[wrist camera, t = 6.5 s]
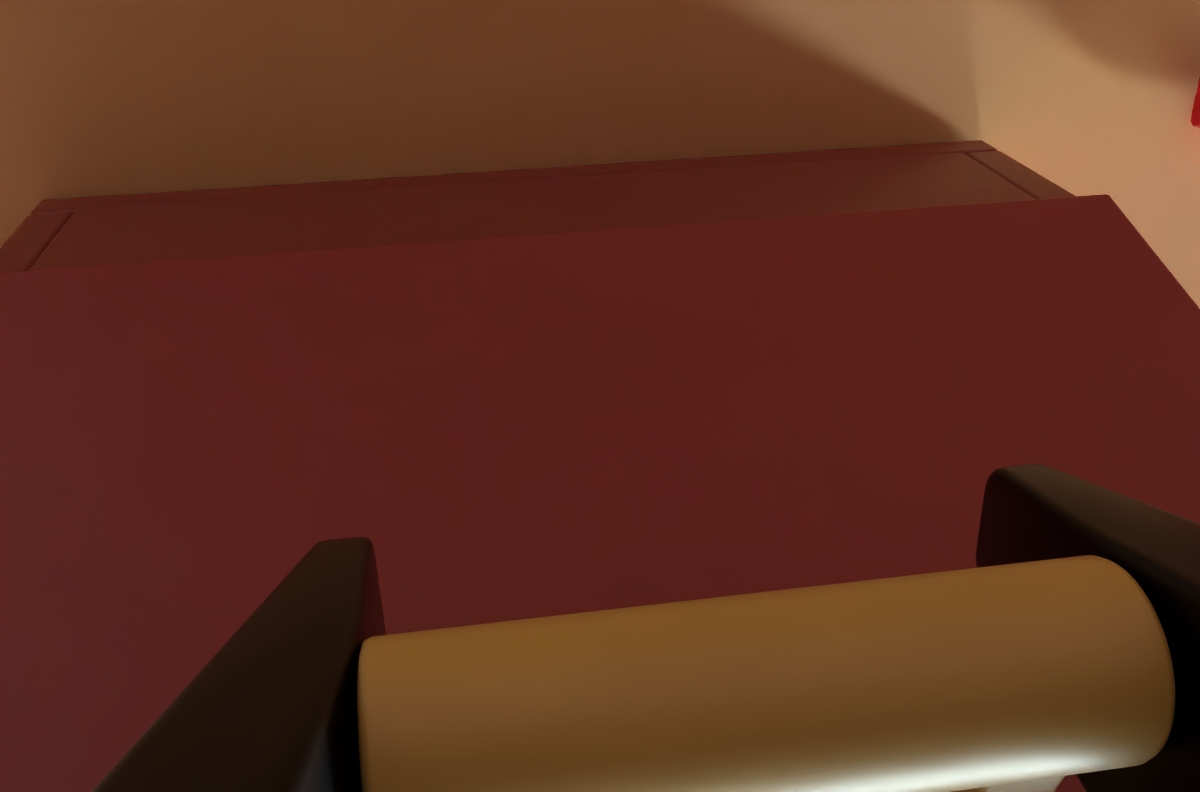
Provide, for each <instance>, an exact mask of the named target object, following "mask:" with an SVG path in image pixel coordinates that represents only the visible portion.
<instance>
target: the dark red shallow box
mask: <svg viewBox="0 0 1200 792" xmlns="http://www.w3.org/2000/svg"><path fill="white" fill-rule="evenodd" d="M1063 197H1076V196H1074V195H1073V194H1071V193H1069V192H1068V191H1066V190H1064V189H1063V188H1061V187H1059V186H1058V185H1056V184H1054V183H1053V182H1051V181H1049V180H1048V179H1046V178H1044V177H1043V176H1041V175H1039V174H1038V173H1036V172H1034V171H1032V170H1031V169H1029V168H1027V167H1026V166H1024V165H1022V164H1021V163H1019V162H1017V161H1016V160H1014V159H1012V158H1011V157H1009V156H1007V155H1006V154H1004V153H1002V152H1000V151H997V149H995V148H994V147H992V146H990V145H989V144H987V143H985V142H984V141H981V140H979V141H963V142H947V143H932V144H916V145H900V146H885V147H869V148H853V149H837V150H822V151H806V152H790V153H774V154H759V155H743V156H727V157H711V158H696V159H680V160H664V161H648V162H633V163H617V164H601V165H586V166H570V167H554V168H538V169H523V170H507V171H491V172H475V173H460V174H444V175H428V176H412V177H397V178H381V179H365V180H349V181H334V182H318V183H302V184H286V185H271V186H255V187H239V188H224V189H208V190H192V191H176V192H161V193H145V194H129V195H113V196H98V197H82V198H66V199H50V200H43V201H41V202H40V203H39V204H38V205H37V206H36V208H35V209H34V210H33V211H32V213H31V215H29V216H28V217H27V218H26V219H25V220H24V221H23V222H22V224H21V225H20V226H19V227H18V228H17V229H16V230H15V232H14V233H13V234H12V235H11V236H10V237H9V238H8V240H7V241H6V242H5V243H4V244H3V245H2V246H1V248H0V273H6V272H20V271H34V270H48V269H62V268H76V267H90V266H104V265H118V264H132V263H147V262H161V261H175V260H189V259H203V258H217V257H231V256H245V255H259V254H273V253H288V252H302V251H316V250H330V249H344V248H358V247H372V246H386V245H400V244H414V243H429V242H443V241H457V240H471V239H485V238H499V237H513V236H527V235H541V234H555V233H570V232H584V231H598V230H612V229H626V228H640V227H654V226H668V225H682V224H696V223H711V222H725V221H739V220H753V219H767V218H781V217H795V216H809V215H823V214H837V213H852V212H866V211H880V210H894V209H908V208H922V207H936V206H950V205H964V204H978V203H993V202H1007V201H1021V200H1035V199H1049V198H1063Z"/></svg>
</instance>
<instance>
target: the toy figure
mask: <svg viewBox="0 0 1200 792" xmlns="http://www.w3.org/2000/svg"><path fill="white" fill-rule="evenodd" d="M1191 123H1192V125H1193V126H1195V127H1200V78H1199V82H1198V88H1197V93H1196V95H1195V99H1194V105H1193V110H1192V117H1191Z"/></svg>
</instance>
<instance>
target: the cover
mask: <svg viewBox="0 0 1200 792" xmlns="http://www.w3.org/2000/svg"><path fill="white" fill-rule="evenodd" d="M1028 464H1042V465H1046V466H1049V467H1051V468H1054V469H1057V470H1059V471H1062V472H1065V473H1067V474H1070V475H1072V476H1075V477H1078V478H1080V479H1083V480H1086V481H1088V482H1091V483H1094V484H1096V485H1099V486H1102V487H1104V488H1107V489H1109V490H1112V491H1115V492H1117V493H1120V494H1123V495H1125V496H1128V497H1131V498H1133V499H1136V500H1139V501H1141V502H1144V503H1147V504H1149V505H1152V506H1154V507H1157V508H1160V509H1162V510H1165V511H1168V512H1170V513H1173V514H1176V515H1178V516H1181V517H1184V518H1186V519H1189V520H1191V521H1194V522H1197V523H1199V524H1200V309H1199V307H1198V306H1197V305H1196V304H1195V302H1194V301H1193V300H1192V299H1191V297H1190V296H1189V295H1188V294H1187V292H1186V291H1185V290H1184V289H1183V287H1182V286H1181V285H1180V284H1179V282H1178V281H1177V280H1176V279H1175V277H1174V276H1173V275H1172V274H1171V272H1170V271H1169V270H1168V269H1167V267H1166V266H1165V265H1164V264H1163V262H1162V261H1161V260H1160V259H1159V257H1158V256H1157V255H1156V254H1155V252H1154V251H1153V250H1152V249H1151V247H1150V246H1149V245H1148V244H1147V242H1146V241H1145V240H1144V239H1143V237H1142V236H1141V235H1140V234H1139V232H1138V231H1137V230H1136V229H1135V227H1134V226H1133V225H1132V224H1131V222H1130V221H1129V220H1128V219H1127V217H1126V216H1125V215H1124V214H1123V212H1122V211H1121V210H1120V209H1119V207H1118V206H1117V205H1116V203H1115V202H1114V201H1113V200H1112V198H1111V197H1110V196H1109V195H1106V194H1105V195H1091V196H1077V197H1063V198H1049V199H1035V200H1021V201H1007V202H993V203H978V204H964V205H950V206H936V207H922V208H908V209H894V210H880V211H866V212H852V213H837V214H823V215H809V216H795V217H781V218H767V219H753V220H739V221H725V222H711V223H696V224H682V225H668V226H654V227H640V228H626V229H612V230H598V231H584V232H570V233H555V234H541V235H527V236H513V237H499V238H485V239H471V240H457V241H443V242H429V243H414V244H400V245H386V246H372V247H358V248H344V249H330V250H316V251H302V252H288V253H273V254H259V255H245V256H231V257H217V258H203V259H189V260H175V261H161V262H147V263H132V264H118V265H104V266H90V267H76V268H62V269H48V270H34V271H20V272H6V273H0V792H91V791H92V790H93V789H94V788H95V787H96V786H97V785H98V784H99V782H100V781H101V780H102V779H103V778H104V777H105V776H106V775H107V774H108V773H109V771H110V770H111V769H112V768H113V767H114V766H115V765H116V764H117V763H118V761H119V760H120V759H121V758H122V757H123V756H124V755H125V754H126V753H127V752H128V750H129V749H130V748H131V747H132V746H133V745H134V744H135V743H136V742H137V741H138V739H139V738H140V737H141V736H142V735H143V734H144V733H145V732H146V731H147V729H148V728H149V727H150V726H151V725H152V724H153V723H154V722H155V721H156V720H157V718H158V717H159V716H160V715H161V714H162V713H163V712H164V711H165V710H166V708H167V707H168V706H169V705H170V704H171V703H172V702H173V701H174V700H175V699H176V697H177V696H178V695H179V694H180V693H181V692H182V691H183V690H184V689H185V687H186V686H187V685H188V684H189V683H190V682H191V681H192V680H193V679H194V678H195V676H196V675H197V674H198V673H199V672H200V671H201V670H202V669H203V668H204V667H205V665H206V664H207V663H208V662H209V661H210V660H211V659H212V658H213V657H214V655H215V654H216V653H217V652H218V651H219V650H220V649H221V648H222V647H223V646H224V644H225V643H226V642H227V641H228V640H229V639H230V638H231V637H232V636H233V634H234V633H235V632H236V631H237V630H238V629H239V628H240V627H241V626H242V625H243V623H244V622H245V621H246V620H247V619H248V618H249V617H250V616H251V615H252V614H253V612H254V611H255V610H256V609H257V608H258V607H259V606H260V605H261V604H262V602H263V601H264V600H265V599H266V598H267V597H268V596H269V595H270V594H271V593H272V591H273V590H274V589H275V588H276V587H277V586H278V585H279V584H280V583H281V581H282V580H283V579H284V578H285V577H286V576H287V575H288V574H289V573H290V572H291V570H292V569H293V568H294V567H295V566H296V565H297V564H298V563H299V562H300V560H301V559H302V558H303V557H304V556H305V555H306V554H307V553H308V552H309V551H310V549H311V548H312V547H313V546H314V545H315V544H317V543H318V542H320V541H324V540H333V539H343V538H352V537H366V538H368V539H370V540H371V542H372V544H373V547H374V552H375V558H376V565H377V572H378V580H379V587H380V594H381V601H382V608H383V616H384V623H385V632H386V635H381V636H372V637H370V638H368V639H366V640H365V641H364V642H363V644H362V648H361V651H360V654H359V661H358V675H357V718H358V743H359V760H360V773H361V785H362V792H1086V790H1085V789H1084V787H1083V785H1082V784H1081V782H1080V780H1079V779H1078V777H1077V775H1076V774H1081V773H1088V772H1096V771H1103V770H1110V769H1117V768H1124V767H1131V766H1138V765H1141V764H1144V763H1146V762H1147V761H1149V760H1150V759H1152V758H1153V757H1154V756H1156V755H1157V754H1158V753H1159V752H1160V751H1161V750H1162V748H1163V747H1164V745H1165V743H1166V742H1167V739H1168V737H1169V734H1170V732H1171V728H1172V724H1173V720H1174V713H1175V697H1176V695H1175V679H1174V671H1173V665H1172V660H1171V655H1170V651H1169V647H1168V643H1167V640H1166V637H1165V634H1164V631H1163V628H1162V625H1161V623H1160V621H1159V618H1158V616H1157V614H1156V612H1155V610H1154V608H1153V606H1152V604H1151V602H1150V600H1149V599H1148V597H1147V596H1146V594H1145V593H1144V591H1143V589H1142V588H1141V587H1140V585H1139V584H1138V583H1137V582H1136V580H1135V579H1134V578H1133V577H1132V576H1131V575H1130V574H1129V573H1128V572H1127V571H1126V570H1125V569H1123V568H1122V567H1121V566H1119V565H1118V564H1116V563H1114V562H1113V561H1111V560H1108V559H1105V558H1102V557H1099V556H1094V555H1085V556H1076V557H1067V558H1059V559H1050V560H1041V561H1032V562H1023V563H1015V564H1006V565H997V566H988V567H979V568H977V565H976V546H977V539H978V532H979V525H980V518H981V511H982V505H983V498H984V491H985V486H986V482H987V479H988V477H989V475H990V474H991V473H992V472H993V471H995V470H996V469H998V468H1002V467H1010V466H1019V465H1028Z"/></svg>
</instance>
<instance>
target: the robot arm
mask: <svg viewBox="0 0 1200 792" xmlns="http://www.w3.org/2000/svg"><path fill="white" fill-rule="evenodd" d="M1085 555H1094V556H1099V557H1102V558H1105V559H1108V560H1111V561H1113V562H1114V563H1116V564H1118V565H1119V566H1121V567H1122V568H1123V569H1125V570H1126V571H1127V572H1128V573H1129V574H1130V575H1131V576H1132V577H1133V578H1134V579H1135V580H1136V582H1137V583H1138V584H1139V585H1140V587H1141V588H1142V589H1143V591H1144V593H1145V594H1146V596H1147V597H1148V599H1149V600H1150V602H1151V604H1152V606H1153V608H1154V610H1155V612H1156V614H1157V616H1158V618H1159V621H1160V623H1161V625H1162V628H1163V631H1164V634H1165V637H1166V640H1167V643H1168V647H1169V651H1170V655H1171V660H1172V665H1173V671H1174V679H1175V695H1176V697H1175V713H1174V720H1173V724H1172V728H1171V732H1170V734H1169V737H1168V739H1167V742H1166V743H1165V745H1164V747H1163V748H1162V750H1161V751H1160V752H1159V753H1158V754H1157V755H1156V756H1154V757H1153V758H1152V759H1150V760H1149V761H1147V762H1146V763H1144V764H1141V765H1138V766H1131V767H1124V768H1117V769H1110V770H1103V771H1096V772H1088V773H1081V774H1076V775H1077V777H1078V779H1079V780H1080V782H1081V784H1082V785H1083V787H1084V789H1085V790H1086V792H1200V524H1199V523H1197V522H1194V521H1191V520H1189V519H1186V518H1184V517H1181V516H1178V515H1176V514H1173V513H1170V512H1168V511H1165V510H1162V509H1160V508H1157V507H1154V506H1152V505H1149V504H1147V503H1144V502H1141V501H1139V500H1136V499H1133V498H1131V497H1128V496H1125V495H1123V494H1120V493H1117V492H1115V491H1112V490H1109V489H1107V488H1104V487H1102V486H1099V485H1096V484H1094V483H1091V482H1088V481H1086V480H1083V479H1080V478H1078V477H1075V476H1072V475H1070V474H1067V473H1065V472H1062V471H1059V470H1057V469H1054V468H1051V467H1049V466H1046V465H1042V464H1028V465H1019V466H1010V467H1002V468H998V469H996V470H995V471H993V472H992V473H991V474H990V475H989V477H988V479H987V482H986V486H985V491H984V498H983V505H982V511H981V518H980V525H979V532H978V539H977V546H976V565H977V568H979V567H988V566H997V565H1006V564H1015V563H1023V562H1032V561H1041V560H1050V559H1059V558H1067V557H1076V556H1085ZM381 635H386V632H385V623H384V616H383V608H382V601H381V594H380V587H379V580H378V572H377V565H376V558H375V552H374V547H373V544H372V542H371V540H370V539H368V538H366V537H352V538H343V539H333V540H324V541H320V542H318V543H317V544H315V545H314V546H313V547H312V548H311V549H310V551H309V552H308V553H307V554H306V555H305V556H304V557H303V558H302V559H301V560H300V562H299V563H298V564H297V565H296V566H295V567H294V568H293V569H292V570H291V572H290V573H289V574H288V575H287V576H286V577H285V578H284V579H283V580H282V581H281V583H280V584H279V585H278V586H277V587H276V588H275V589H274V590H273V591H272V593H271V594H270V595H269V596H268V597H267V598H266V599H265V600H264V601H263V602H262V604H261V605H260V606H259V607H258V608H257V609H256V610H255V611H254V612H253V614H252V615H251V616H250V617H249V618H248V619H247V620H246V621H245V622H244V623H243V625H242V626H241V627H240V628H239V629H238V630H237V631H236V632H235V633H234V634H233V636H232V637H231V638H230V639H229V640H228V641H227V642H226V643H225V644H224V646H223V647H222V648H221V649H220V650H219V651H218V652H217V653H216V654H215V655H214V657H213V658H212V659H211V660H210V661H209V662H208V663H207V664H206V665H205V667H204V668H203V669H202V670H201V671H200V672H199V673H198V674H197V675H196V676H195V678H194V679H193V680H192V681H191V682H190V683H189V684H188V685H187V686H186V687H185V689H184V690H183V691H182V692H181V693H180V694H179V695H178V696H177V697H176V699H175V700H174V701H173V702H172V703H171V704H170V705H169V706H168V707H167V708H166V710H165V711H164V712H163V713H162V714H161V715H160V716H159V717H158V718H157V720H156V721H155V722H154V723H153V724H152V725H151V726H150V727H149V728H148V729H147V731H146V732H145V733H144V734H143V735H142V736H141V737H140V738H139V739H138V741H137V742H136V743H135V744H134V745H133V746H132V747H131V748H130V749H129V750H128V752H127V753H126V754H125V755H124V756H123V757H122V758H121V759H120V760H119V761H118V763H117V764H116V765H115V766H114V767H113V768H112V769H111V770H110V771H109V773H108V774H107V775H106V776H105V777H104V778H103V779H102V780H101V781H100V782H99V784H98V785H97V786H96V787H95V788H94V789H93V790H92V791H91V792H362V785H361V773H360V760H359V743H358V718H357V675H358V661H359V654H360V651H361V648H362V644H363V642H364V641H365V640H366V639H368V638H370V637H372V636H381Z"/></svg>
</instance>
